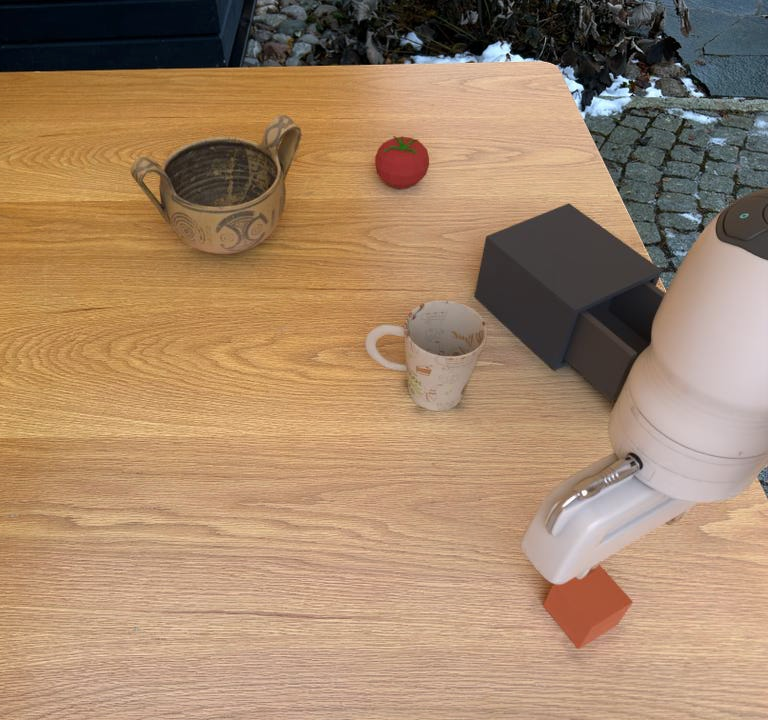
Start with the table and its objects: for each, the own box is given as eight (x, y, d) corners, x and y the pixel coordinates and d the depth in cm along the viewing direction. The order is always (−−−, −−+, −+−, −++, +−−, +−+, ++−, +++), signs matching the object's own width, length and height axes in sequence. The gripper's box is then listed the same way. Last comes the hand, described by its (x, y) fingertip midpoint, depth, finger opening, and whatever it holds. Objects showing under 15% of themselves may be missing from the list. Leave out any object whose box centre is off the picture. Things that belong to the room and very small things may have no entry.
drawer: (733, 407, 79) (764, 358, 74) (654, 451, 76) (681, 402, 70) (609, 308, 90) (629, 258, 84) (536, 342, 87) (551, 293, 81)
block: (580, 582, 68) (594, 558, 64) (617, 624, 65) (633, 601, 62) (542, 605, 66) (553, 582, 63) (578, 649, 64) (592, 627, 60)
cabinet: (635, 332, 89) (662, 270, 82) (553, 371, 85) (574, 310, 78) (551, 263, 98) (569, 202, 91) (473, 297, 94) (485, 235, 87)
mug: (466, 427, 80) (480, 364, 73) (352, 401, 83) (355, 338, 76) (478, 372, 85) (492, 308, 78) (371, 349, 88) (375, 286, 81)
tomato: (365, 174, 113) (367, 128, 108) (411, 162, 115) (416, 117, 109) (387, 202, 108) (391, 156, 102) (436, 190, 110) (442, 144, 104)
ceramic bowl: (274, 184, 112) (269, 89, 101) (328, 246, 102) (328, 149, 91) (133, 228, 106) (111, 132, 95) (174, 299, 95) (155, 201, 84)
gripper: (599, 542, 41) (545, 643, 51) (845, 398, 47) (752, 514, 57) (523, 460, 45) (486, 569, 55) (758, 336, 51) (686, 455, 61)
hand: (623, 540), depth 56 cm, fingers open, 8 cm apart
